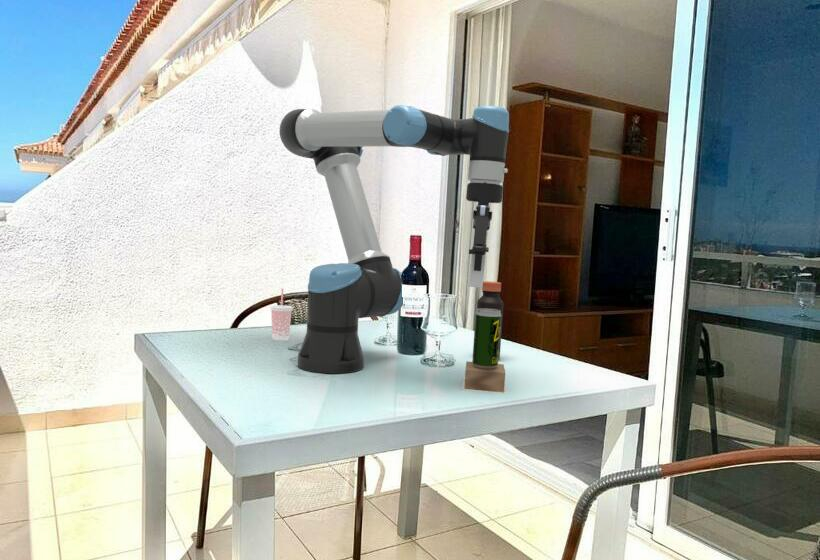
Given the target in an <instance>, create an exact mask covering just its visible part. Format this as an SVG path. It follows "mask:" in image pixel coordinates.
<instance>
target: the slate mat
mask: <svg viewBox="0 0 820 560" xmlns="http://www.w3.org/2000/svg"><path fill="white" fill-rule="evenodd" d="M461 385H462V386H461V390H462V391H472V392H473V391H474V392H484V393H486V392H487V393H496V394H497V393H498V394H507V388H506V384H505V385H504V392H494V391H482V390H470V389H464V386H465V378H462V384H461Z"/></svg>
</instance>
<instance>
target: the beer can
mask: <svg viewBox="0 0 820 560" xmlns="http://www.w3.org/2000/svg"><path fill="white" fill-rule="evenodd" d="M500 312H501V311H500V310H497V309H488V308H479V309H477V308H476V312H475V316H474V317H475V318H474V329H473V330H474V332H473V334H474V335H473V345H472V346H473V347H472V361H471V362H472V363H473V366H474V367H476V368H479V369H486V370H491V369H496V368H497V366H498V364H499V360H498V357H499V343H500V329H501V313H500Z"/></svg>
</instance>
